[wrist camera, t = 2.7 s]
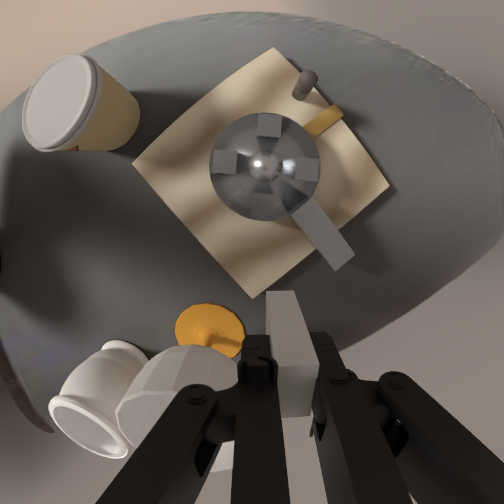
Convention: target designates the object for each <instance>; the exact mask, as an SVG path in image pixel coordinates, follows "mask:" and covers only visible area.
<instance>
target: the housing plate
mask: <svg viewBox="0 0 504 504" xmlns="http://www.w3.org/2000/svg"><path fill="white" fill-rule="evenodd" d="M317 81H318V76H317V75H316V73H315V72H313V71H311V70H304V71H303V72H301V73H300V72H299V71H298V70H297V69H296V68H295V67H294V66H293V65H292V64H291V63H289V62H288V61H287V60H286V59H285V58H284V57H283V56H282V55H281V54H280V53H279V52H278V51H277V50H276V49H275V48H271V49H270V50H268V51H267V52H265V53H263V54H262V55H260V56H259V57H257V58H256V59H254V60H253V61H251V62H250V63H248V64H247V65H245V66H244V67H242V68H241V69H240V70H238V71H237V72H235V73H234V74H233V75H231V76H230V77H228V78H227V79H226V80H224V81H223V82H222V83H220V84H219V85H218V86H216V87H215V88H214V89H213V90H211V91H210V92H209V93H208V94H206V95H205V96H204V97H203V98H201V99H200V100H199V101H198V102H196V103H195V104H194V105H193V106H192V107H191V108H189V109H188V110H187V111H186V112H185V113H184V114H182V115H181V116H180V117H179V118H178V119H177V120H176V121H175V122H173V123H172V124H171V125H170V126H169V127H168V128H167V129H166V130H165V131H164V132H163V133H162V134H161V135H160V136H158V137H157V138H156V139H155V140H154V141H153V142H152V143H151V144H150V145H149V146H148V147H147V148H146V149H145V150H144V151H143V152H142V153H141V154H140V155H139V157H138V158H137V159H136V160H135V161H134V162H133V163H132V165H133V166H134V167H135V168H136V169H137V170H138V172H139V173H140V174H141V175H142V176H143V178H144V179H145V180H146V181H147V182H148V183H149V185H150V186H151V187H152V188H153V189H154V191H155V192H156V193H157V194H158V195H159V196H160V197H161V199H162V200H163V201H164V202H165V203H166V204H167V206H168V207H169V208H170V209H171V210H172V211H173V212H174V214H175V215H176V216H177V217H178V218H179V219H180V220H181V222H182V223H183V224H184V225H185V226H186V227H187V228H188V229H189V231H190V232H191V233H192V234H193V235H194V236H195V237H196V238H197V240H198V241H199V242H200V243H201V244H202V245H203V246H204V247H205V248H206V250H207V251H208V252H209V253H210V254H211V255H212V256H213V257H214V258H215V259H216V261H217V262H218V263H219V264H220V265H221V266H222V267H223V268H224V269H225V270H226V271H227V273H228V274H229V275H230V276H231V277H232V278H233V279H234V280H235V281H236V282H237V283H238V284H239V285H240V287H241V288H242V289H243V290H244V291H245V292H246V293H247V294H248V295H249V296H250V297H251V298H252V299H254V298H255V297H256V296H257V295H259V294H260V293H261V292H263V291H264V290H265V289H266V288H268V287H269V286H270V285H272V284H273V283H274V282H275V281H277V280H278V279H279V278H280V277H282V276H283V275H284V274H285V273H287V272H288V271H289V270H290V269H292V268H293V267H294V266H295V265H297V264H298V263H299V262H300V261H302V260H303V259H304V258H305V257H306V256H308V255H309V254H310V253H311V252H313V251H314V250H315V248H314V246H313V245H312V244H311V243H310V241H309V240H308V239H307V238H306V236H305V235H304V234H303V233H302V231H301V230H300V229H299V228H298V226H297V225H296V224H295V223H294V221H293V220H292V219H291V218H290V216H288V217H285V218H283V219H279V220H274V221H257V220H252V219H248V218H245V217H243V216H241V215H239V214H237V213H235V212H234V211H232V210H231V209H230V208H228V207H227V206H226V205H225V204H224V203H223V202H222V200H221V199H220V198H219V197H218V195H217V193H216V191H215V190H214V187H213V185H212V182H211V178H210V172H209V160H210V154H211V151H212V148H213V145H214V143H215V141H216V139H217V138H218V136H219V135H220V133H221V132H222V131H223V130H224V129H225V128H226V127H227V126H228V125H229V124H231V123H232V122H234V121H235V120H237V119H239V118H241V117H243V116H246V115H249V114H253V113H261V112H266V113H275V114H279V115H283V116H285V117H288V118H290V119H292V120H294V121H295V122H297V123H298V124H299V125H301V126H302V127H303V128H304V129H305V130H306V131H307V132H308V133H309V135H310V136H311V137H312V139H313V141H314V143H315V144H316V147H317V149H318V153H319V157H320V164H321V171H320V178H319V182H318V185H317V188H316V190H315V192H314V194H313V195H312V197H313V198H314V199H315V201H316V202H317V203H318V204H319V206H320V207H321V208H322V210H323V211H324V212H325V214H326V215H327V216H328V218H329V219H330V220H331V222H332V223H333V224H334V226H335V227H336V228H337V230H339V229H340V228H341V227H343V226H344V225H345V224H346V223H347V222H349V221H350V220H351V219H352V218H353V217H354V216H356V215H357V214H358V213H359V212H360V211H361V210H363V209H364V208H365V207H366V206H367V205H368V204H369V203H371V202H372V201H373V200H374V199H375V198H376V197H377V196H379V195H380V194H381V193H382V192H383V191H384V190H385V189H386V188H388V187H389V184H388V182H387V181H386V179H385V178H384V176H383V175H382V173H381V172H380V170H379V169H378V167H377V166H376V164H375V163H374V162H373V160H372V159H371V157H370V156H369V154H368V153H367V152H366V150H365V149H364V148H363V146H362V145H361V143H360V142H359V141H358V139H357V138H356V137H355V136H354V134H353V133H352V132H351V130H350V129H349V128H348V127H347V125H346V124H345V123H344V122H343V120H342V119H341V117H342V116H343V115H344V114H343V113H342V112H341V111H340V109H339V108H338V107H337V106H336V105H335V103H334V104H333V105H332V106H330V105H329V104H328V103H327V101H326V100H325V99H324V98H323V97H322V96H321V95H320V94H319V92H318V91H317V90H316V89H315V88H314V86H315V84H316V83H317Z"/></svg>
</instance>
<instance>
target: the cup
mask: <svg viewBox="0 0 504 504" xmlns="http://www.w3.org/2000/svg"><path fill="white" fill-rule="evenodd" d="M175 334H176V337H177V340H178V343H179V345H180V346H174V347H171V348H169V349H167V350H165V351H163V352H161V353H159V354H157V355H156V356H155V357H153V358H152V359H151V360H150V361H148V362H147V363H146V365H145V366H144V367H143V369H142V370H141V371H140V372H139V374H138V375H137V376H136V378H135V379H134V380H133V382H132V384H131V385H130V387H129V389H128V390H127V392H126V394H125V395H124V397H123V399H122V400H121V402H120V404H119V405H118V407H117V409H116V411H115V414H116V419H117V424H118V428H119V430H120V431H121V432H122V434H123V435H124V436H125V438H126V439H127V440H128V441H129V443H130V444H131V445H133V446H134V447H135V448H138V446H139V445H140V444H141V442H142V441H143V440H144V438H145V437H146V436H147V434H148V433H149V432H150V430H151V429H152V427H153V426H154V425H155V423H156V422H157V421H158V419H159V418H160V416H161V415H162V414H163V412H164V411H165V410H166V408H167V407H168V405H169V404H170V403H171V401H172V400H173V398H174V397H175V396H176V394H177V393H178V392H179V391H180V390H181V389H182V388H183V387H185V386H188V385H191V384H204V385H207V386H210V387H211V388H212V389H214V390H215V391H220V390H225V389H228V388H230V387H232V386H234V385H235V384H236V383H237V382H238V373H237V365H236V364H235V363H234V362H233V360H231V359H230V358H232V357H234V356H236V354H237V353H238V352H239V351H240V350H241V349H242V341H243V339H244V338H245V333H244V329H243V324H242V323H241V322H240V320H239V319H238V318H237V316H236V315H235V314H234V313H233V312H231V311H229V310H228V309H226V308H224V307H223V306H219V305H215V304H210V303H204V304H198V305H193V306H191V307H190V308H188V309H186V310H185V311H183V312H182V314H181V315H180V317H179V318H178V320H177V321H176V329H175ZM233 454H234V441H230V442H225V443H222V446H221V448H220V451H219V453H218V455H217V457H216V459H215V462H214V464H213V466H212V468H211V470H210V472H220V471H224V470H229V469H233Z"/></svg>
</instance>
